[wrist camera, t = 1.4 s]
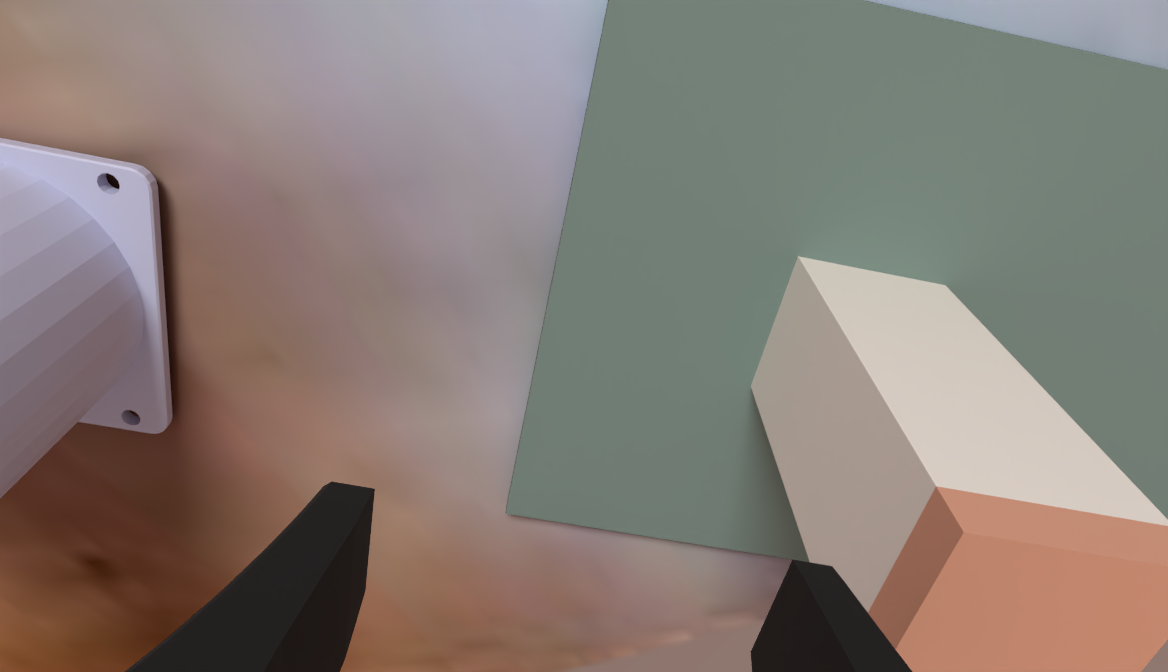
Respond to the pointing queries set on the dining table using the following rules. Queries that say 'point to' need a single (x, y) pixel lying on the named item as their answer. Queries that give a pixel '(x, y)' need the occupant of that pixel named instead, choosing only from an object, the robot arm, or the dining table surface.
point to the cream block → (954, 484)
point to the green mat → (833, 242)
